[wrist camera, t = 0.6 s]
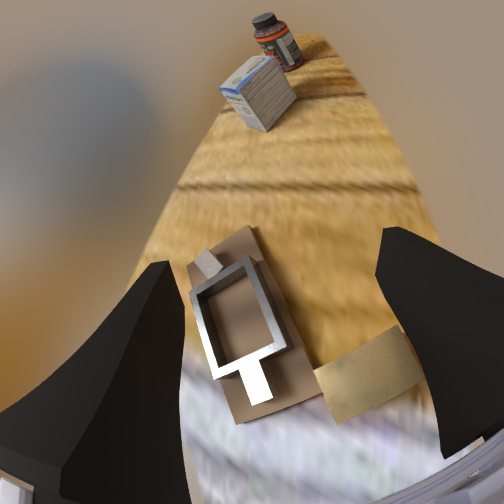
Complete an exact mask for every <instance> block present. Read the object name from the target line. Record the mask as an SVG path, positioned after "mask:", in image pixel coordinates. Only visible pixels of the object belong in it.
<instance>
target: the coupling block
mask: <svg viewBox="0 0 504 504" xmlns="http://www.w3.org/2000/svg"><path fill="white" fill-rule="evenodd" d="M313 372H314V374H315V376H316V378H317V381H318V383H319V385H320V387H321V390H322V392H323V394H324V397H325V399H326V401H327V403H328V406H329V408H330V410H331V413H332V415H333V417H334V419H335V422H336V424H340V423H342V422H344V421H347V420H349V419H351V418H353V417H356V416H358V415H360V414H362V413H364V412H366V411H368V410H371V409H373V408H375V407H377V406H379V405H380V404H382V403H384V402H386V401H388V400H390V399H392V398H394V397H396V396H397V395H399V394H401V393H403V392H404V391H406V390H408V389H410V388H411V387H413V386H415V385H416V384H418V383H420V382H421V381H423V380H424V379H425V378H424V376H423V374H422V372H421V370H420V368H419V366H418V364H417V362H416V359H415V357H414V355H413V353H412V351H411V349H410V347H409V346H408V344H407V342H406V340H405V338H404V336H403V334H402V332H401V330H400V328H399V326H398V325H395V326H393V327H392V328H390V329H389V330H387V331H385V332H384V333H382V334H380V335H379V336H377V337H375V338H374V339H372V340H370V341H368V342H367V343H365V344H363V345H361V346H360V347H358V348H356V349H354V350H352V351H351V352H349V353H347V354H345V355H343V356H341V357H339V358H337V359H336V360H334V361H332V362H330V363H328V364H326V365H324V366H322V367H320V368H318V369H315V370H313Z"/></svg>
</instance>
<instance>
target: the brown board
mask: <svg viewBox="0 0 504 504" xmlns="http://www.w3.org/2000/svg"><path fill="white" fill-rule="evenodd" d="M187 270H188V274H189V278H190V281H191V285H192V289H193V290H191V291H189V296H190V299H191V303H192V307H193V310H194V314H195V318H196V321H197V325H198V328H199V332H200V335H201V338H202V342H203V345H204V348H205V352H206V355H207V358H208V361H209V365H210V368H211V371H212V374H213V377H214V379H220V381H221V384H222V387H223V390H224V393H225V396H226V399H227V401H228V404H229V407H230V410H231V413H232V415H233V418H234V421H235V423H236V425H237V424H241V423H244V422H247V421H250V420H253V419H256V418H259V417H262V416H265V415H268V414H271V413H273V412H276V411H279V410H281V409H284V408H287V407H289V406H292V405H294V404H297V403H299V402H302V401H304V400H306V399H309V398H311V397H313V396H316V395H318V394H320V393H322V390H321V387H320V385H319V383H318V381H317V378H316V376H315V374H314V372H313V370H315V369H316V368H315V366H314V364H313V361H312V359H311V357H310V355H309V352H308V350H307V348H306V346H305V343H304V341H303V339H302V337H301V335H300V332H299V330H298V328H297V326H296V323H295V321H294V319H293V317H292V315H291V312H290V310H289V308H288V306H287V303H286V301H285V299H284V297H283V295H282V292H281V290H280V288H279V286H278V284H277V281H276V279H275V277H274V275H273V273H272V271H271V268H270V266H269V264H268V262H267V260H266V257H265V255H264V253H263V251H262V249H261V247H260V244H259V242H258V240H257V238H256V236H255V233H254V231H253V229H252V228H251V227H250V226H249V225H246V226H245V227H243V228H242V229H240V230H239V231H237V232H236V233H234V234H233V235H231V236H230V237H228V238H227V239H225V240H224V241H222V242H221V243H219V244H218V245H216V246H215V247H214V248H212V249H211V250H209V249H207V248H205V249H204V251H203V252H202V253H201V254H200V255H199V256H198V258H197V259H196V260H194V261H193V262H192V263H190V264H189V265H187Z"/></svg>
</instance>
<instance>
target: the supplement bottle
mask: <svg viewBox="0 0 504 504" xmlns="http://www.w3.org/2000/svg"><path fill="white" fill-rule="evenodd" d="M252 23H253V25H254V27H255V28H256V30H255V32H254V36H255V38H256V40H257V41H258V43H259V45H260V46H261V48H262V49H263V51H264V53H265V54H266V56H274V57H275V58H276V60H277V62H278V64H279V65H280V67H281V69H282V71H283V72H287V71H290V70H293V69H296V68H297V67H299V66H300V65H301V64H302V63H303V61H304V58H303V56H302V53H301V51H300V49H299V47H298V45H297V44H296V42H295V40H294V38H293V36H292V34H291V32H290V30H289V29H288V27H287V25H286V24H285V22H283V21H278V20H277V19H276V17H275V15H274V14H273V13H272V12H269V13H265V14H262V15H260V16H258V17H256V18H255V19H253V20H252Z"/></svg>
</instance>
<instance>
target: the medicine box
mask: <svg viewBox="0 0 504 504" xmlns="http://www.w3.org/2000/svg"><path fill="white" fill-rule="evenodd" d="M219 90H220V91H221V92H222V93H223V95H224V96H225V97H226V99H227V100H228V101H229V103H230V104H231V105H232V106H233V108H234V109H235V110H236V112H237V113H238V114H239V116H240V117H241V118H242V120H243V121H244V122H245V124H246V125H247V126H248V127H251V128H254V129H258V130H261V131H264V132H267V131H268V130H269V129H270V128H271V127H272V126H273V124H274V123H275V122H276V121H277V120H278V119H279V118H280V116H281V115H282V114H283V113H284V112H285V111H286V110H287V109H288V108H289V106H290V105H291V104H292V103H293V102H294V101H295V100H296V99H297V97H296V95H295V93H294V91H293V89H292V87H291V86H290V84H289V82H288V80H287V78H286V76H285V74H284V73H283V71H282V69H281V67H280V65H279V64H278V62H277V60H276V58H275V57H274V56H252V57H251V58H250V59H249V60H248V61H247V62H245V63H244V64H243V65H242V66H241V67H240V68H239V69H238V70H237V71H236V72H235V73H233V74H232V76H230V77H229V78H228V79H227V80H226V81H225V82H224V83H223V84H222V85H221V86H220V88H219Z"/></svg>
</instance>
